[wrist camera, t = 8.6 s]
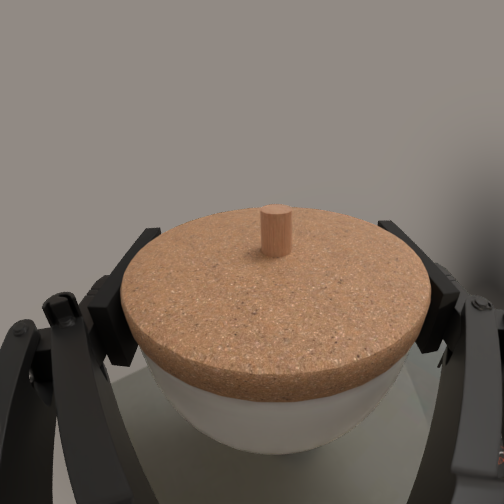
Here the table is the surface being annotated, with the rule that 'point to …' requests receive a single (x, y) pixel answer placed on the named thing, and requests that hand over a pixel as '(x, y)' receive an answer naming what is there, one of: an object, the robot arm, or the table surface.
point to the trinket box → (275, 322)
